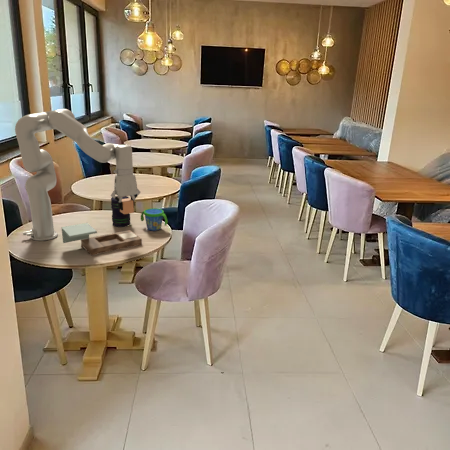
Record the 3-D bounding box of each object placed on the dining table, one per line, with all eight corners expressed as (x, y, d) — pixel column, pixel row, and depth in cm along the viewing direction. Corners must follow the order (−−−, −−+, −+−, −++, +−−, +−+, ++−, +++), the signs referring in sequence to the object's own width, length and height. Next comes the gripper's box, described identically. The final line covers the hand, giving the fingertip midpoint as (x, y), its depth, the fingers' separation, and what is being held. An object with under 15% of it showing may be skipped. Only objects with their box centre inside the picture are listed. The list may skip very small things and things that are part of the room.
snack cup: (171, 229, 223) (171, 211, 220) (159, 234, 215) (159, 216, 211) (149, 223, 230) (148, 206, 227) (136, 228, 222) (135, 210, 218)
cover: (71, 251, 182) (69, 236, 180) (63, 242, 192) (61, 227, 189) (98, 246, 189) (96, 231, 186) (88, 237, 199) (87, 222, 196)
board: (91, 255, 188) (90, 248, 187) (81, 245, 198) (80, 239, 197) (141, 244, 202) (141, 238, 201) (130, 235, 212) (129, 229, 211)
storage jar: (108, 225, 225) (107, 199, 220) (118, 220, 234) (116, 194, 229) (125, 228, 222) (123, 201, 217) (133, 222, 231) (132, 196, 226)
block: (124, 214, 196) (123, 202, 194) (119, 211, 200) (119, 199, 198) (133, 212, 199) (133, 200, 197) (129, 209, 203) (129, 198, 201)
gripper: (110, 175, 185) (112, 213, 191) (144, 171, 195) (146, 208, 201) (104, 171, 191) (106, 209, 197) (138, 168, 200) (139, 204, 206)
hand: (126, 208), depth 199 cm, fingers closed on block, 4 cm apart
